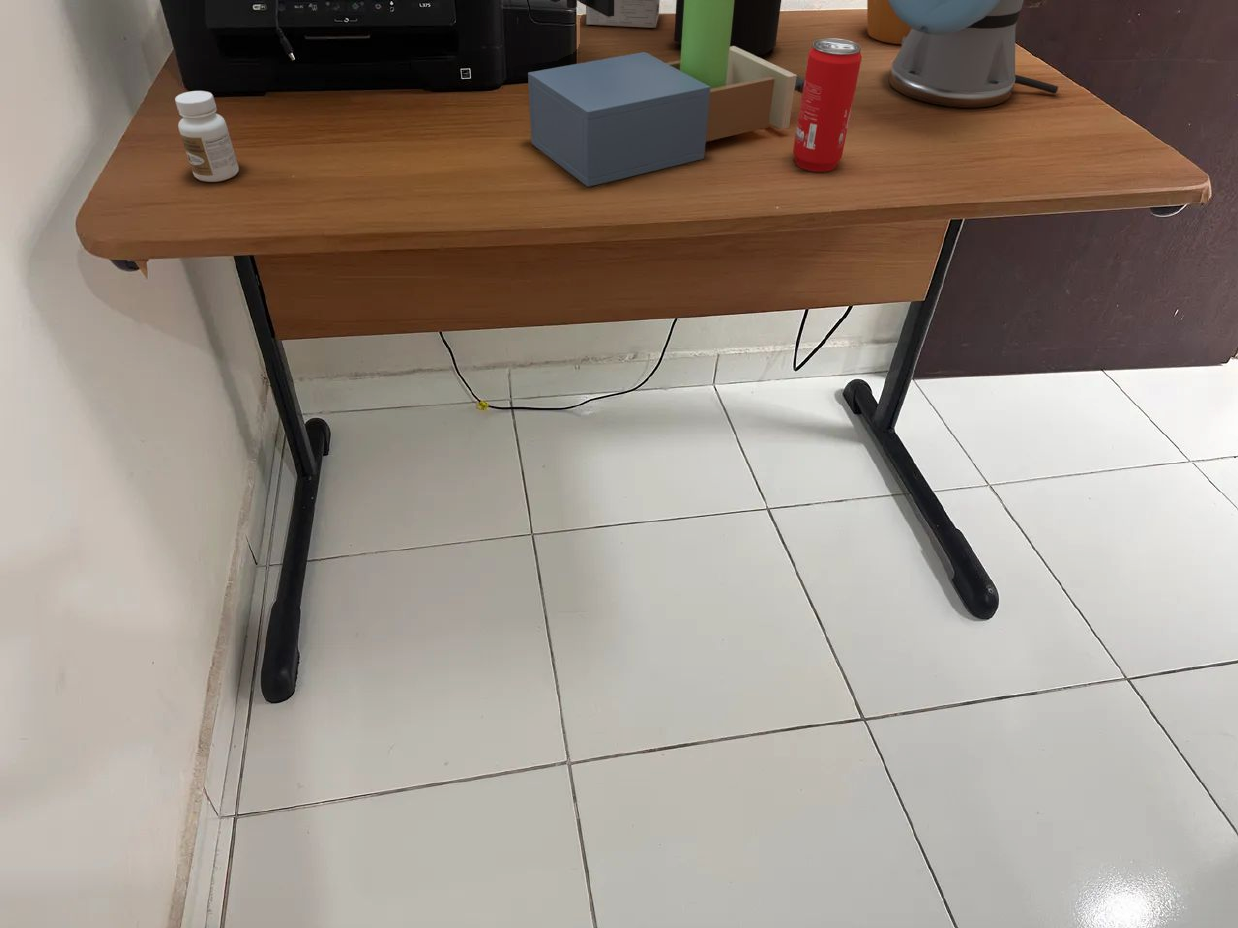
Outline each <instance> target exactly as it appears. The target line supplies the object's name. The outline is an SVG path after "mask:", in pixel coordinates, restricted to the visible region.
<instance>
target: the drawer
mask: <svg viewBox="0 0 1238 928" xmlns="http://www.w3.org/2000/svg"><path fill="white" fill-rule="evenodd" d="M680 60H681V59H678V60H674V61H668V62H665V63H666V64H668V65H670V66H672V67H674V68H676V69H678V70H680ZM804 80H805V78H802V77H800V76H799V75H797V74H795V73H793V72H791V71H789V70H787V69H785V68H783V67H781V66H778V65H776V64H774V63H772V62H771V61H767V60H766V59H763V58H762V57H757V56H755V55H753V54H750V53H748V52H746V51H744V50H742V49H740V48H738V47H735V46H731V47H730V50H729V60H728V70H727V80H726V86H722V87H717V88H712V89H710V94H709V95H710V98H709V109H708V120H707V132H706V143H707V142H711V141H715V140H719V139H723V138H728V137H733V136H736V135H740V134H744V133H745V134H746V133H749V132H753V131H757V130H762V129H767V128H769V125H772V126H774V127H776V128H777V129H778V130H785V129H789V128H790V123H791V117H792V109H793V104H794V96H795V92H796V91H797V92H798V93H801V94H802V93H803V86H804Z"/></svg>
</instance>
